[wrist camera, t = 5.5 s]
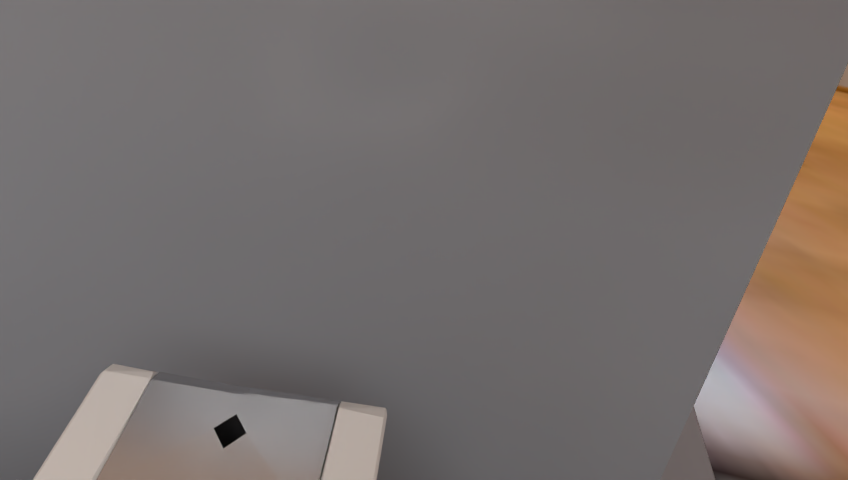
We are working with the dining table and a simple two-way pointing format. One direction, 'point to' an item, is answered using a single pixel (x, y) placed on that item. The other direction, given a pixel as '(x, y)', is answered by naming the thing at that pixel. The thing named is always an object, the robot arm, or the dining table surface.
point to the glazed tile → (401, 210)
